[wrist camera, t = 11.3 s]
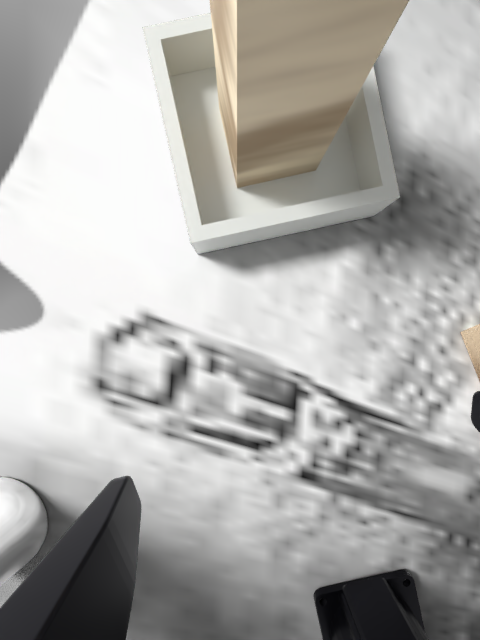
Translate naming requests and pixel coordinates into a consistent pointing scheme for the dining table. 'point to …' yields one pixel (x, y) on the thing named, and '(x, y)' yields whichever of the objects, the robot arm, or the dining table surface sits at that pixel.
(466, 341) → the cork coaster
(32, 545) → the beer glass
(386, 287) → the dining table surface
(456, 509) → the dining table surface
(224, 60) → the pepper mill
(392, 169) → the tray
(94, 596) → the robot arm
